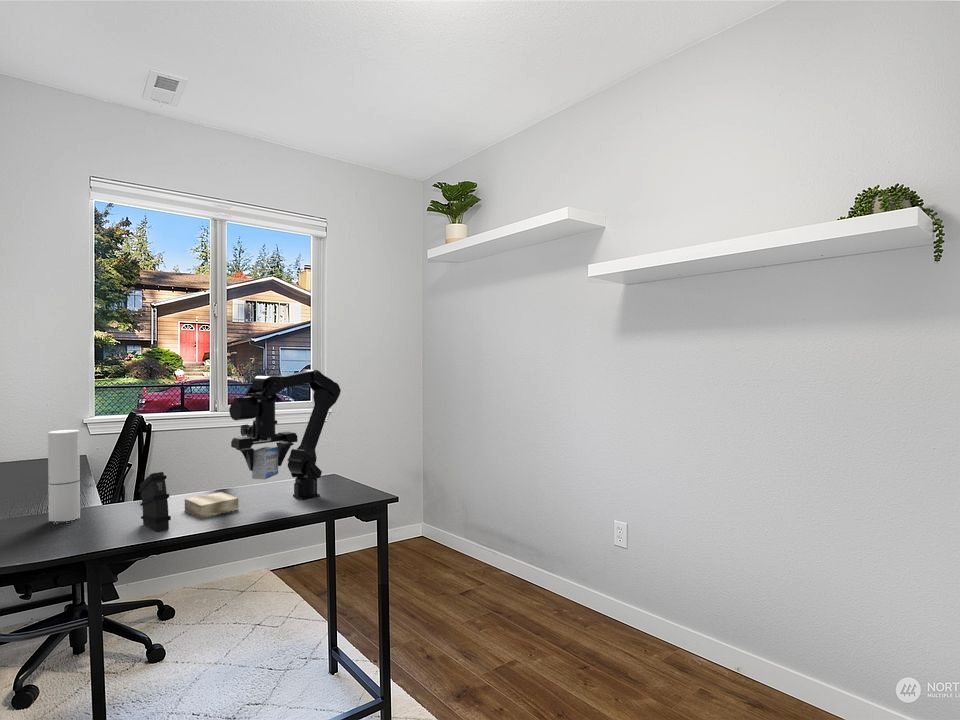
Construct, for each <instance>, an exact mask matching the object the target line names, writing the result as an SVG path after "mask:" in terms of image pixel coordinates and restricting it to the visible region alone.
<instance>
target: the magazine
mask: <svg viewBox="0 0 960 720" xmlns="http://www.w3.org/2000/svg"><path fill="white" fill-rule="evenodd" d="M166 479H167V475H165V474H164V471H159V472H154V473H153V472H152V473H150V474H149V475H148V476H147V477H146V478H145V479H144V480H143V481H142V482H141V483H139V489H138V490H137V491H138V493H140V495H141V496H140V497H141V503H140V504H139V505H140V507H142V515H140V519H142V524H143V525H144V526H146V527H148V528H150V529H151V530H153V531H155V532H157V533H160V532H164V530H165V531H168V530H169V529H170V527H169V526H170V525H169V523H170V522H169V521H171V520H172V519H171V518H172V516H171V515H169V504H168V503H169V501H168V499H169V498H170V493H168V492H167V484H166Z"/></svg>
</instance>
